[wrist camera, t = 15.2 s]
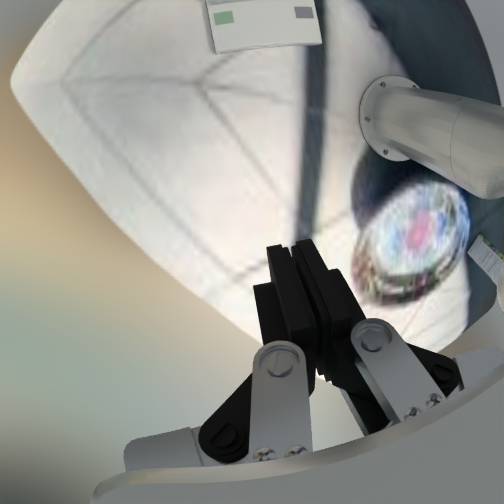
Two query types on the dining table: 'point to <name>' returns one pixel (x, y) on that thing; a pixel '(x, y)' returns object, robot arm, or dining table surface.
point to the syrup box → (486, 257)
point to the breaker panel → (262, 24)
